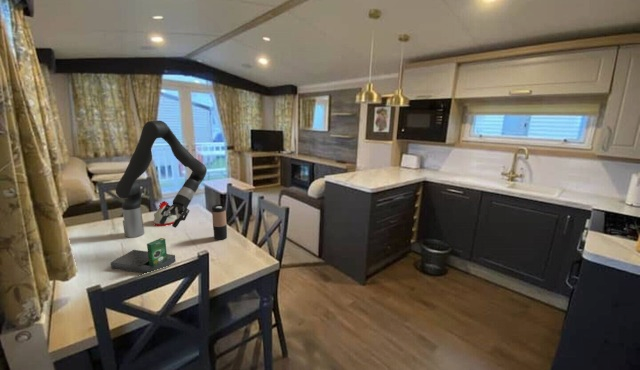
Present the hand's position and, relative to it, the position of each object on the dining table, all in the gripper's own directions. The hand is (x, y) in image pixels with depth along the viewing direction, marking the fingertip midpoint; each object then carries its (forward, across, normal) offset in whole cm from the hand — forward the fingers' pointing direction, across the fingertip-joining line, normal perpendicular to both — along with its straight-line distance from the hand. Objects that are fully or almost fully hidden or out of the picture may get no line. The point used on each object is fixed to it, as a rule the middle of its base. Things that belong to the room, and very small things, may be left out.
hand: (167, 225), depth 137 cm
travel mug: (-8, +5, +34) cm, 36 cm away
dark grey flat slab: (+20, -7, +6) cm, 22 cm away
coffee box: (+18, 0, +8) cm, 20 cm away
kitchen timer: (-12, -45, +38) cm, 61 cm away
